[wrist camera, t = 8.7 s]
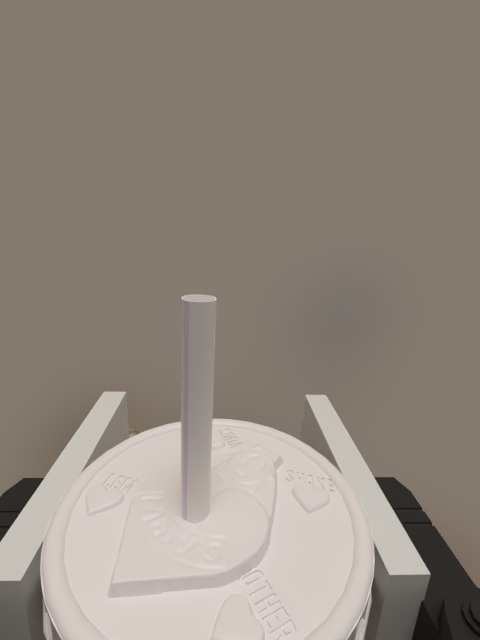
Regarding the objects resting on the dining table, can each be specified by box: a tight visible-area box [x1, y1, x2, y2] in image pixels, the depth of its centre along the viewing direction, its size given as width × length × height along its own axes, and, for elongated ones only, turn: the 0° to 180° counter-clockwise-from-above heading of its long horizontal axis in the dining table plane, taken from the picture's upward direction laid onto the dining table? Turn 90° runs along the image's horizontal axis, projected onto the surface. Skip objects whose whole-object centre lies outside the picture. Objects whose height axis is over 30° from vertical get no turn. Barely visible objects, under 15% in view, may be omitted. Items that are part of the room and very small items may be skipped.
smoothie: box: [40, 295, 375, 640], centre depth 8 cm, size 6×6×14 cm
